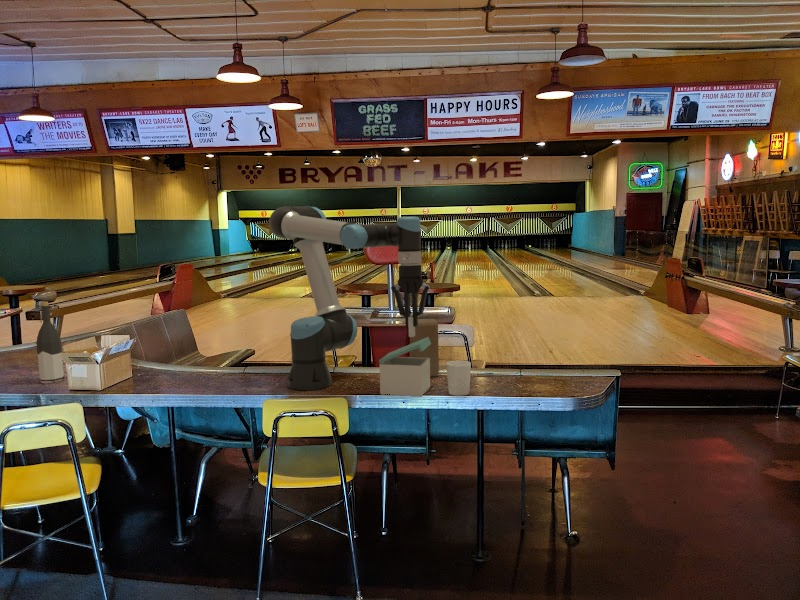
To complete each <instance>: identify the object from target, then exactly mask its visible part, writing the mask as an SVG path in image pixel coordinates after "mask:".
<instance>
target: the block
mask: <svg viewBox="0 0 800 600" xmlns="http://www.w3.org/2000/svg"><path fill="white" fill-rule="evenodd" d="M427 337H429V340H430V342H431V344H430V345H429V346H428V347H427V348H426V349H425V350H423V351H422V352H420V351H419V348H417V349H414V350H412V351H409V353H410V355H409V357H415V358H430V378H433V377H434V378H435V377H436V378H437V377H439V375H440V372H439V371H440V366H439V365H440V363H439V361H440V359H439V351H440V350H439V324H438V321H437V319H435V318H418V325H417V326H416V327H415V336H414V337H409V345H410V344H412V343H415V342H417V341H420V340H422V339H424V338H427Z"/></svg>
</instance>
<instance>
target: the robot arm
mask: <svg viewBox="0 0 800 600" xmlns="http://www.w3.org/2000/svg"><path fill="white" fill-rule="evenodd" d="M268 219H269V220H268V225H269V229H270V231H271V233H272V234H273V235H274V236H276V237H277V238H279V239H284V240H286V239H287V240H292V242H293V245H294V247H295V248H297V249H298V250H299V252H300V255H301V258H302V262H303V266H304V269H305V272H306V276H307V279H308V283H309V287H310V290H311V294H312V298H313V301H314V305H315V309H316V311H317V312H316V313H315V315H313V316H308V317H307V316H306V317H301V318H298V319H295V320H294V321H292V323H291V324H290V335H289V336H290V347H291V350H290V351H291V367H290V372H289V374H288V379H287V387H288V388H289V389H290V390H291V389H292V390H297V391H313V390H315V391H316V390H321V389H325V388H329V387H330V386H332V375H331V373H330V370H329V367H328V364H327V361H326V357H327V356H326V353H327V352H330V351H335V350H337V349H344V348H346V347H349V346H351V345H352V344H353V343H354V342H355V340H356V338H357V335H358V324H357V322H356V319H355V318H354V317H352V316H351V315H350V314H348V313H347V310H346V308H345V307H344V306H342V305H341V303H340V300H339V297H338V293H337V290H336V285H335V283H334V279H333V275H332V273H331V272H332V271H331V268H330V265H329V262H328V258H327V254H326V251H325V248H324V244H323V243H328V244H334V245H341V246H344V247H345V248H347V249H350V250H351V249H352V250H353V249H355V250H358V249H365V248H381V247H397V256H398V257H397V258H398V259H397V261H398V262H397V263H398V264H399V265H398V280H397V282H396V284H394V285H392V286H391V288H390V289H391V290H392V292H393V294H394V297H395V301H396V305H397V308H398V313H399V315H400V316H401V315H402V316H403V317H404V319H405V320H404V321H405V322H404V323H405V326H406V327H408V337H409V338H410V337H414V336H415V327H416V326H417V325H418V319H419V316H421V315H423V314H424V310H425V305H426V300H427V296H428V292H429V291H430V289H431V285H430V284H426V283H425V281H424V280H423V271H422V270H423V269H422V268H423V267H422V265H421V263H422V260H423V259H422V244H421V243H422V241H421V239H422V229H421V218H420V217H418V216H399V217H397V218H396V221H397V222H396V223H395V222H394V223H368V224H364V223H363V224H362V223H356V222H355V223H354V222H346V221H339V220H333V219H327V217H326V215H325V213H324V212H323V210H321V209H319V208H318V207H316V206H309V205H305V206H302V205H301V206H299V205H298V206H293V205H292V206H280V207H278V208H276V209H275V210H274V211H272V213H271V214H270V217H269V218H268ZM400 290H402V292H403V297H404V303H403V298H402V296H401V292H400ZM420 290H422V293H421V296H420V300H419V301H420V302H418V294H419V293H418V292H419V291H420ZM411 304H412V305H411ZM418 304H419V305H418ZM411 306H412V307H411ZM411 309H412V311H411ZM411 313H412V314H411Z"/></svg>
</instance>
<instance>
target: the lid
mask: <svg viewBox="0 0 800 600" xmlns="http://www.w3.org/2000/svg"><path fill="white" fill-rule="evenodd" d="M430 344H431V342H430V340H429V337H427V338H424V339H422V340H420V341H417V342H415V343H412V344H410V343H409V344H408V345H405V346H402V347H400V348H397V349H395V350H393V351H391V352H388V353H387V354H386V355H383V357H382V358H380V359H378V363H379V364H381V363H382V362H385V361H387V360H390V359H392V358H395V357H401V356H402V355H404V354H407V353H410V351H412V350H414V349H417V348H419V351H420V352H422V351H423V350H425V349H426V348H427V347H428V346H429V345H430Z"/></svg>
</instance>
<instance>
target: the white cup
mask: <svg viewBox="0 0 800 600" xmlns="http://www.w3.org/2000/svg"><path fill="white" fill-rule="evenodd" d="M471 366H472V363H471V361H468V360H467V361H466V360H451V361H447V362H446V376H447V378H446V379H447V385H448V387H447V389H448V394H449V395H451V396H456V397H462V396H467V395H470V391H471V389H470V388H471V386H470V385H471V373H472V372H471V370H472V367H471Z"/></svg>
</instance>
